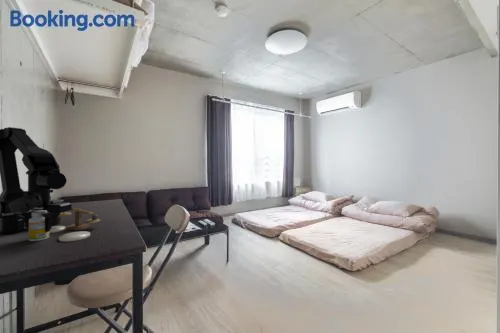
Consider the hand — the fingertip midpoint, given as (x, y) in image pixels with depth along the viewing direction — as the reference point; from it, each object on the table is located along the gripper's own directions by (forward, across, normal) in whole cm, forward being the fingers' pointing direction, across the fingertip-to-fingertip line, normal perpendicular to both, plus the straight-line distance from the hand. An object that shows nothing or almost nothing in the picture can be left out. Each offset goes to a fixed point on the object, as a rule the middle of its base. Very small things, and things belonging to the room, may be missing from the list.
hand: (39, 231), depth 80 cm
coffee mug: (+3, -11, +19) cm, 22 cm away
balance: (+2, +4, +13) cm, 14 cm away
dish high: (+2, -3, +10) cm, 10 cm away
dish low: (+2, +11, +2) cm, 11 cm away
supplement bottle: (+3, 0, 0) cm, 3 cm away
